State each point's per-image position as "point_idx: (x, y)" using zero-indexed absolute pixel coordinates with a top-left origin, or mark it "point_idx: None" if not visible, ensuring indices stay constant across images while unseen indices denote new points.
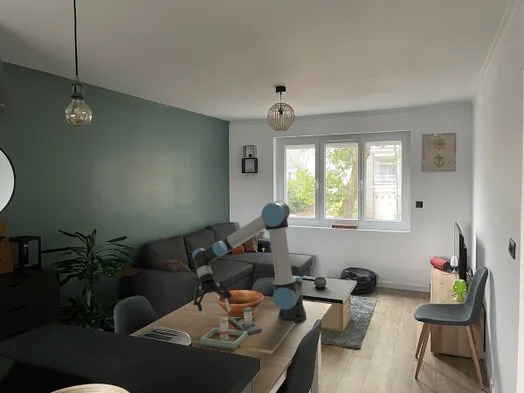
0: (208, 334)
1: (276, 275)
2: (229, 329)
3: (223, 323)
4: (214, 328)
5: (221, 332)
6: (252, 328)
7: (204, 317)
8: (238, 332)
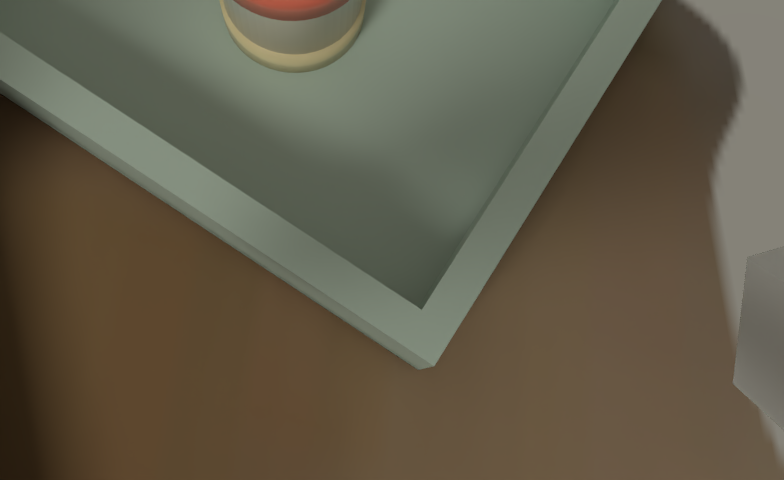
0: (550, 105)
1: None
2: (153, 175)
3: None
4: (433, 311)
5: None
6: None
7: (734, 371)
8: (14, 44)
